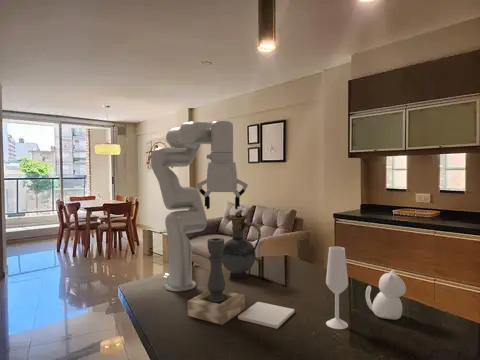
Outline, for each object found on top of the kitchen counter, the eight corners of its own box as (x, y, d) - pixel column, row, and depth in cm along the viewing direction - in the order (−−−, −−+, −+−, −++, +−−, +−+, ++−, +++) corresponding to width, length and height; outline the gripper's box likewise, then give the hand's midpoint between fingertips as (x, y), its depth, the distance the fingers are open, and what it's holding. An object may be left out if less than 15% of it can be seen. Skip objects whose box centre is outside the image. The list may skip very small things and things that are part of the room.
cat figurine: (403, 325, 108) (404, 277, 107) (361, 316, 115) (362, 271, 114) (407, 315, 116) (408, 270, 115) (367, 306, 122) (368, 264, 122)
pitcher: (229, 270, 168) (228, 208, 167) (265, 275, 160) (265, 209, 159) (217, 276, 159) (216, 210, 158) (255, 282, 150) (255, 212, 149)
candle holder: (223, 316, 115) (222, 241, 115) (205, 315, 117) (204, 241, 116) (227, 309, 122) (226, 238, 121) (210, 308, 123) (209, 237, 122)
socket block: (187, 315, 117) (187, 300, 117) (211, 301, 129) (211, 288, 129) (222, 324, 110) (222, 309, 109) (244, 309, 122) (244, 294, 121)
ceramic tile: (237, 319, 114) (237, 316, 114) (257, 304, 126) (257, 301, 126) (277, 328, 107) (277, 325, 106) (294, 312, 119) (294, 309, 119)
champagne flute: (323, 319, 113) (323, 245, 112) (344, 319, 112) (344, 245, 112) (328, 329, 106) (328, 250, 105) (350, 329, 106) (350, 250, 105)
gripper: (194, 158, 114) (195, 210, 115) (247, 158, 114) (247, 210, 114) (198, 158, 122) (198, 207, 123) (247, 158, 121) (247, 207, 122)
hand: (222, 208), depth 118 cm, fingers open, 9 cm apart
